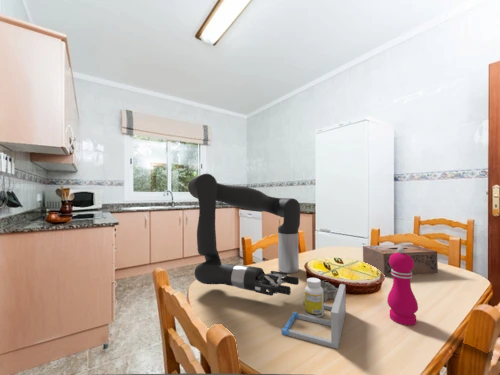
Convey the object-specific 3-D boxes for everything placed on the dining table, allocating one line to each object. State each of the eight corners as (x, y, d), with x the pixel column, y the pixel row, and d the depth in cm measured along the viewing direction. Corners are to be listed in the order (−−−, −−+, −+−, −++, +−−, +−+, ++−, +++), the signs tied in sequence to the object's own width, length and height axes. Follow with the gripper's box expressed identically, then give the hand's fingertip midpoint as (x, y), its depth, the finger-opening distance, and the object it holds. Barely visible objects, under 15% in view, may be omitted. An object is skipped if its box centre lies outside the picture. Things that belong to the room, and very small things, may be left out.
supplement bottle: (311, 307, 74) (310, 275, 74) (327, 313, 70) (326, 279, 70) (301, 313, 70) (300, 279, 70) (318, 320, 66) (317, 284, 66)
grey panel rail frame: (301, 302, 77) (300, 277, 77) (345, 311, 71) (345, 284, 71) (281, 333, 60) (281, 301, 60) (338, 349, 54) (337, 313, 54)
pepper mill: (423, 328, 62) (421, 251, 62) (393, 325, 63) (391, 249, 64) (411, 314, 69) (409, 245, 70) (383, 311, 70) (382, 244, 71)
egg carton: (306, 289, 88) (305, 278, 88) (324, 287, 90) (324, 276, 90) (319, 302, 78) (319, 289, 78) (340, 300, 79) (340, 287, 79)
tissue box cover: (411, 264, 118) (410, 244, 118) (437, 274, 104) (437, 251, 104) (363, 266, 115) (362, 246, 115) (383, 277, 100) (383, 253, 101)
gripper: (237, 272, 74) (287, 281, 66) (256, 261, 87) (300, 267, 79) (237, 297, 74) (287, 308, 66) (256, 281, 86) (300, 289, 79)
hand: (294, 285), depth 73 cm, fingers open, 8 cm apart
